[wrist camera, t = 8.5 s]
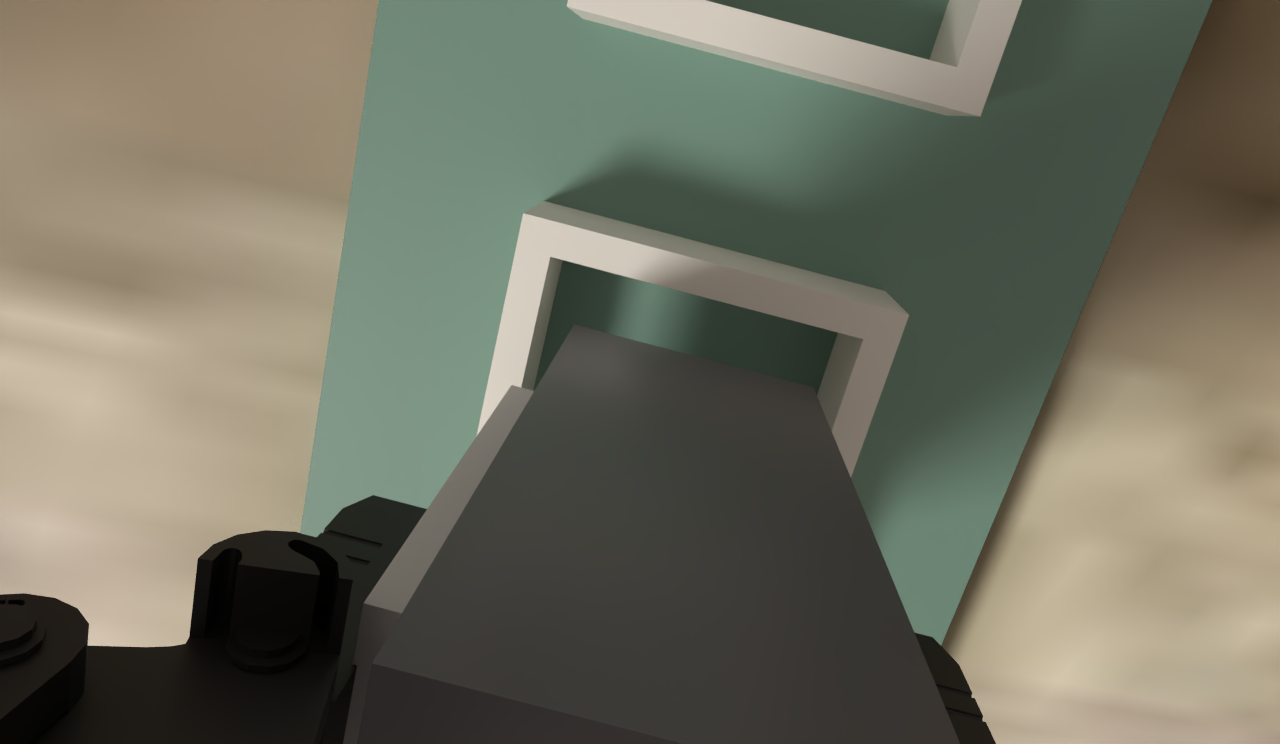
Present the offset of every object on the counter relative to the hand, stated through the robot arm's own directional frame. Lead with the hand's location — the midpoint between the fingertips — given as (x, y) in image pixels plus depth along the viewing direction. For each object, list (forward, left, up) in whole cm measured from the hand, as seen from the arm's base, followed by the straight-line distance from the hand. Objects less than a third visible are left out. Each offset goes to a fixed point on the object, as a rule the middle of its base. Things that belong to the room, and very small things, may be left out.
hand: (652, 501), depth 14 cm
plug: (0, 0, 0) cm, 0 cm away
